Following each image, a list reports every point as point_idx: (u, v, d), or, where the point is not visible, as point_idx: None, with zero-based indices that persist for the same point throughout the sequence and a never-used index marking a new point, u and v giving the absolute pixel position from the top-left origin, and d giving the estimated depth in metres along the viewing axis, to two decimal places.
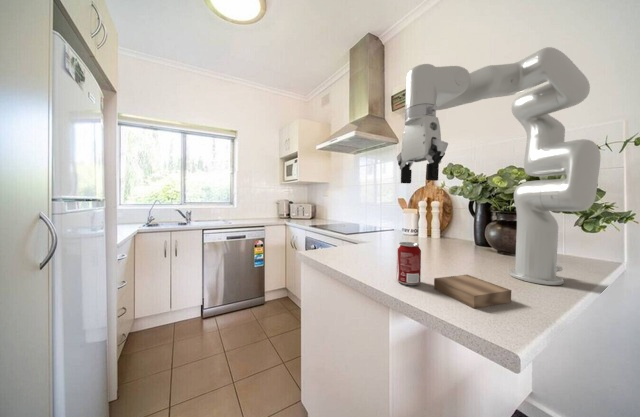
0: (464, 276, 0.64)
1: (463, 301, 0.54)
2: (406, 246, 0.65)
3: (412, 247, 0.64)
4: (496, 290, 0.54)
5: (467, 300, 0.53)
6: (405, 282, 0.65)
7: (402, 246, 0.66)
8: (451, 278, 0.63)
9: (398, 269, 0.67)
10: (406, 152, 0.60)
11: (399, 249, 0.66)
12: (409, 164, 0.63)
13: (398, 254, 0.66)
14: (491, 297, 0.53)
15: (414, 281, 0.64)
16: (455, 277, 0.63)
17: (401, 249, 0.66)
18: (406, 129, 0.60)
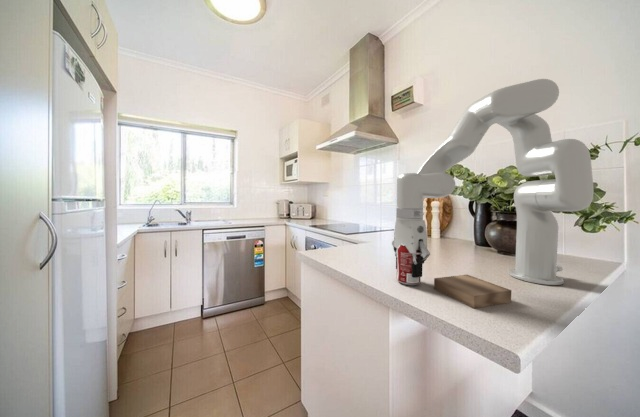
0: (464, 276, 0.64)
1: (463, 301, 0.54)
2: None
3: None
4: (496, 290, 0.54)
5: (467, 300, 0.53)
6: (405, 282, 0.65)
7: (402, 246, 0.66)
8: (451, 278, 0.63)
9: (398, 269, 0.67)
10: (398, 243, 0.68)
11: (399, 249, 0.66)
12: None
13: (398, 254, 0.66)
14: (491, 297, 0.53)
15: (414, 281, 0.64)
16: (455, 277, 0.63)
17: (401, 249, 0.66)
18: (397, 223, 0.69)
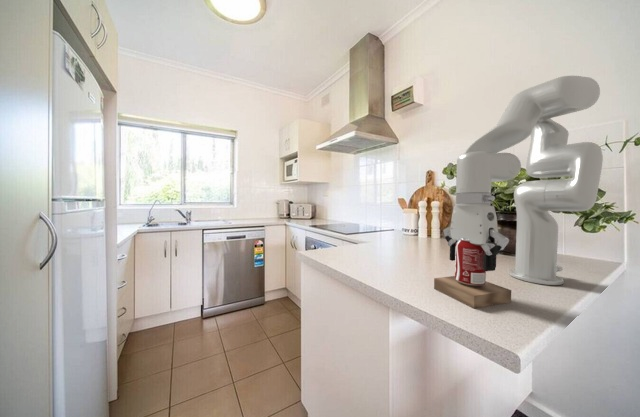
0: None
1: (463, 301, 0.54)
2: None
3: None
4: (496, 290, 0.54)
5: (467, 300, 0.53)
6: (469, 283, 0.56)
7: (464, 241, 0.57)
8: (451, 278, 0.63)
9: (459, 268, 0.58)
10: (457, 233, 0.60)
11: (460, 245, 0.58)
12: None
13: (460, 251, 0.58)
14: (491, 297, 0.53)
15: (480, 282, 0.55)
16: None
17: (463, 245, 0.57)
18: (457, 210, 0.60)
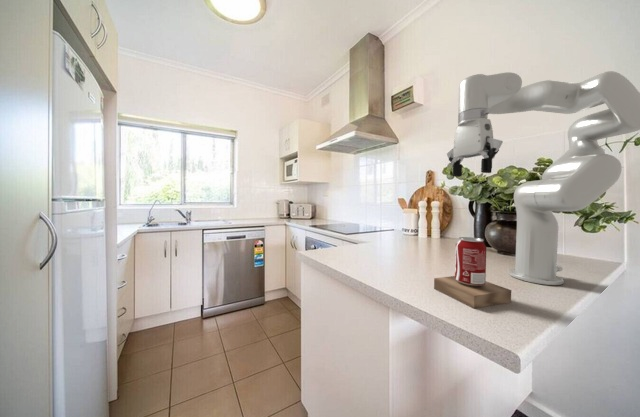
0: None
1: (463, 301, 0.54)
2: (470, 241, 0.56)
3: (477, 242, 0.56)
4: (496, 290, 0.54)
5: (467, 300, 0.53)
6: (469, 283, 0.56)
7: (464, 241, 0.57)
8: (451, 278, 0.63)
9: (459, 268, 0.58)
10: (459, 149, 0.70)
11: (460, 245, 0.58)
12: (460, 160, 0.73)
13: (460, 251, 0.58)
14: (491, 297, 0.53)
15: (480, 282, 0.55)
16: None
17: (463, 245, 0.57)
18: (459, 130, 0.70)
